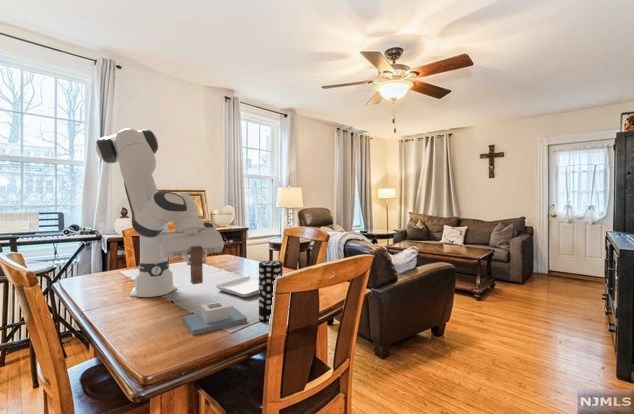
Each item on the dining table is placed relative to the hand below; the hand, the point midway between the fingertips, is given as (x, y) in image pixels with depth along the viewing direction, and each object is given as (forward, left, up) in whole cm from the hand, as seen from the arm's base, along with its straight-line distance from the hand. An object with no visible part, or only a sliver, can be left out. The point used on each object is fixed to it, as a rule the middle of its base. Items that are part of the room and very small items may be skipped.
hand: (197, 263), depth 102 cm
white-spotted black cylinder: (+7, +23, -22) cm, 33 cm away
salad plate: (-30, +30, -22) cm, 48 cm away
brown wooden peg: (-1, 0, -7) cm, 7 cm away
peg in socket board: (-2, +6, -21) cm, 22 cm away
